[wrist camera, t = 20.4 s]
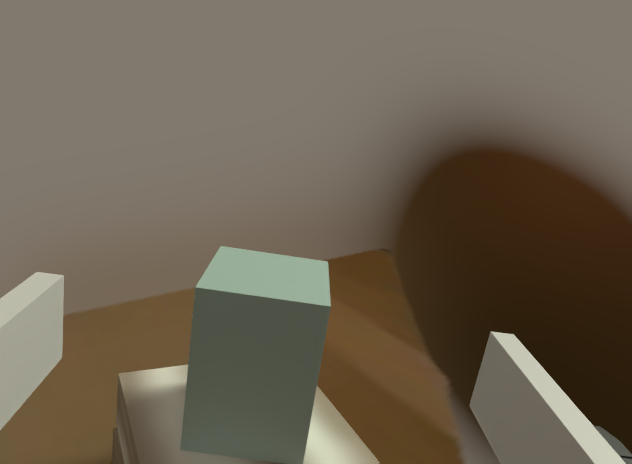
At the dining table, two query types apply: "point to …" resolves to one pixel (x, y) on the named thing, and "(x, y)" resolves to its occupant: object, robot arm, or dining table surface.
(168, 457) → the top block
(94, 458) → the dining table surface
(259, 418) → the sage block
